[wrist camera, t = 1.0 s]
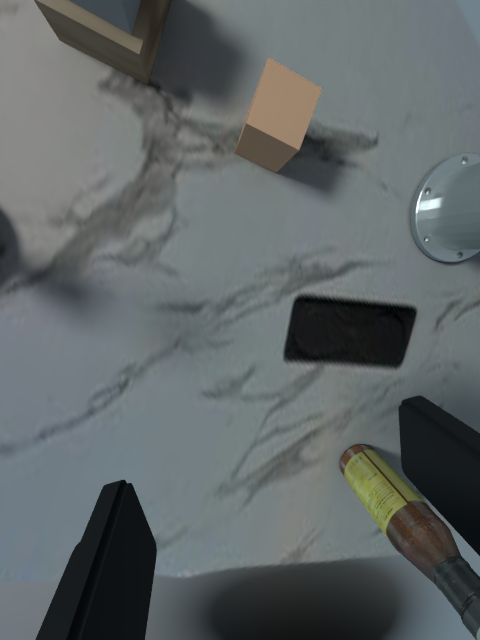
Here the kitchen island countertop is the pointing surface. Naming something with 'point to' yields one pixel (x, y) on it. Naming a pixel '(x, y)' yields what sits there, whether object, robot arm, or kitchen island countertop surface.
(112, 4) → the slate-grey cube
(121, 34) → the light brown wooden plinth
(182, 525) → the kitchen island countertop surface
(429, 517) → the sauce bottle
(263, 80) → the peach rectangular block
